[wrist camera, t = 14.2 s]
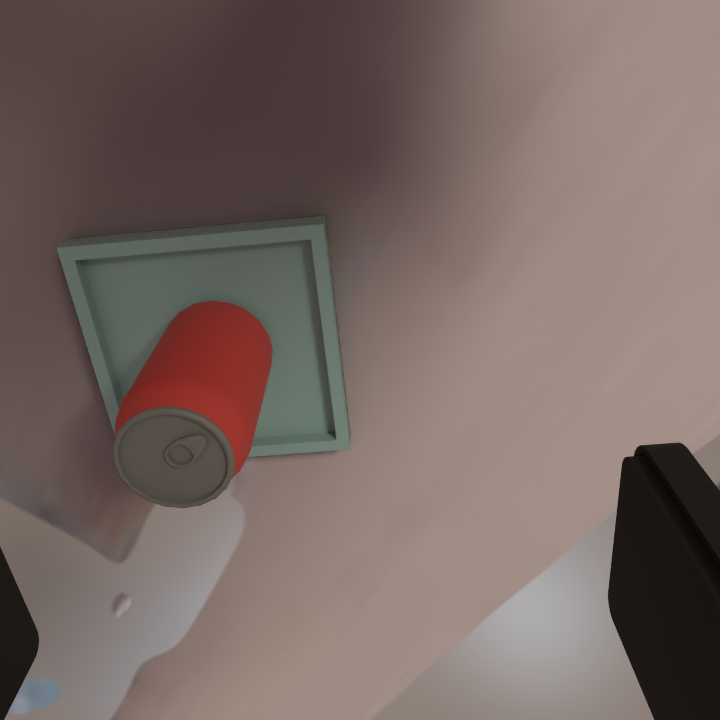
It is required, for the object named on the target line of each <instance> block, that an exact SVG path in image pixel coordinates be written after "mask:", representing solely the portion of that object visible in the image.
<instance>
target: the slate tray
mask: <svg viewBox="0 0 720 720" xmlns="http://www.w3.org/2000/svg"><path fill="white" fill-rule="evenodd" d="M57 251H58V255H59V258H60V261H61V264H62V268H63V271H64V274H65V277H66V280H67V284H68V287H69V290H70V293H71V297H72V300H73V303H74V306H75V310H76V313H77V316H78V319H79V322H80V326H81V329H82V332H83V335H84V339H85V342H86V345H87V348H88V352H89V355H90V358H91V361H92V364H93V368H94V371H95V374H96V377H97V381H98V384H99V387H100V390H101V394H102V397H103V400H104V403H105V406H106V410H107V413H108V416H109V419H110V423H111V426H112V429H113V432H114V436H115V423H116V417H117V415H118V412H119V409H120V406H121V403H122V401H123V399H124V398H125V396H126V394H127V393H128V391H129V389H130V388H131V386H132V385H133V383H134V381H135V380H136V378H137V376H138V375H139V373H140V371H141V370H142V368H143V366H144V365H145V363H146V361H147V360H148V358H149V357H150V355H151V353H152V352H153V350H154V348H155V347H156V345H157V343H158V342H159V340H160V338H161V337H162V335H163V333H164V332H165V330H166V329H167V327H168V325H169V324H170V322H171V321H172V320H173V319H174V318H175V317H176V316H177V314H178V313H179V312H180V311H182V310H184V309H186V308H187V307H189V306H191V305H193V304H195V303H201V302H206V301H220V302H228V303H232V304H234V305H236V306H239V307H241V308H244V309H246V310H247V311H248V312H249V313H251V314H252V315H253V316H254V317H256V318H257V319H258V320H259V321H260V322H261V324H262V325H263V327H264V328H265V330H266V331H267V333H268V334H269V338H270V341H271V345H272V348H273V352H272V365H271V369H270V373H269V377H268V381H267V385H266V389H265V394H264V398H263V402H262V406H261V410H260V414H259V418H258V422H257V426H256V431H255V435H254V439H253V443H252V447H251V450H250V452H249V454H248V457H256V456H269V455H283V454H296V453H309V452H322V451H335V450H348V449H350V426H349V417H348V409H347V400H346V391H345V383H344V374H343V366H342V357H341V348H340V340H339V331H338V323H337V314H336V305H335V297H334V288H333V280H332V271H331V263H330V254H329V245H328V237H327V228H326V220H325V215H323V216H312V217H301V218H290V219H279V220H268V221H257V222H246V223H235V224H224V225H213V226H202V227H191V228H180V229H169V230H158V231H146V232H135V233H124V234H113V235H102V236H91V237H80V238H69V239H68V240H66V241H65V242H64V243H62V244H61V245H60V246H58V247H57Z"/></svg>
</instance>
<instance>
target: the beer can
mask: <svg viewBox="0 0 720 720" xmlns="http://www.w3.org/2000/svg"><path fill="white" fill-rule="evenodd" d="M272 352H273V348H272V345H271V341H270V338H269V334H268V333H267V331H266V330H265V328H264V327H263V325H262V324H261V322H260V321H259V320H258V319H257V318H256V317H254V316H253V315H252V314H251V313H249V312H248V311H247V310H246V309H244V308H241V307H239V306H236V305H234V304H232V303H228V302H220V301H206V302H201V303H195V304H193V305H191V306H189V307H187V308H186V309H184V310H182V311H180V312H179V313H178V314H177V316H176V317H175V318H174V319H173V320H172V321H171V322H170V324H169V325H168V327H167V329H166V330H165V332H164V333H163V335H162V337H161V338H160V340H159V342H158V343H157V345H156V347H155V348H154V350H153V352H152V353H151V355H150V357H149V358H148V360H147V361H146V363H145V365H144V366H143V368H142V370H141V371H140V373H139V375H138V376H137V378H136V380H135V381H134V383H133V385H132V386H131V388H130V389H129V391H128V393H127V394H126V396H125V398H124V399H123V401H122V403H121V406H120V409H119V412H118V415H117V417H116V423H115V440H114V443H113V446H112V450H113V463H114V465H115V467H116V470H117V472H118V474H119V476H120V478H121V479H122V480H123V481H124V482H125V484H126V485H127V486H128V487H129V488H130V489H131V490H132V491H133V492H135V493H136V494H138V495H140V496H141V497H143V498H144V499H146V500H148V501H151V502H153V503H156V504H160V505H162V506H167V507H177V508H186V507H193V506H199V505H202V504H205V503H207V502H209V501H211V500H213V499H215V498H217V497H218V496H219V495H220V494H221V493H222V492H223V491H224V490H225V489H226V488H227V487H228V485H229V483H230V480H231V479H232V478H233V477H234V476H235V475H236V474H237V473H238V472H239V471H240V469H241V468H242V466H243V465H244V463H245V461H246V459H247V457H248V454H249V452H250V450H251V447H252V443H253V439H254V435H255V431H256V426H257V422H258V418H259V414H260V410H261V406H262V402H263V398H264V394H265V389H266V385H267V381H268V377H269V373H270V369H271V365H272Z"/></svg>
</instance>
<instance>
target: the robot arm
mask: <svg viewBox="0 0 720 720" xmlns="http://www.w3.org/2000/svg"><path fill="white" fill-rule="evenodd" d="M608 601H609V608H610V613H611V616H612V619H613V622H614V624H615V627H616V629H617V632H618V634H619V636H620V639H621V641H622V644H623V646H624V648H625V651H626V653H627V656H628V658H629V660H630V663H631V665H632V668H633V670H634V672H635V674H636V677H637V679H638V682H639V684H640V687H641V689H642V691H643V694H644V696H645V699H646V701H647V703H648V706H649V708H650V710H651V713H652V715H653V717H654V720H720V491H719V489H718V488H717V487H716V485H715V484H714V483H713V481H712V480H711V479H710V477H709V476H708V475H707V474H706V472H705V471H704V470H703V468H702V467H701V466H700V464H699V463H698V462H697V460H696V459H695V458H694V456H693V455H692V454H691V452H690V451H689V450H688V449H687V447H686V446H685V445H683V444H682V443H667V444H654V445H641V446H639V447H637V449H636V451H635V454H634V456H632V457H626V458H624V460H623V463H622V470H621V479H620V488H619V497H618V507H617V516H616V525H615V534H614V544H613V553H612V562H611V572H610V581H609V590H608ZM38 645H39V636H38V632H37V629H36V627H35V624H34V622H33V620H32V617H31V615H30V613H29V611H28V608H27V606H26V604H25V602H24V599H23V597H22V595H21V593H20V591H19V588H18V586H17V584H16V582H15V579H14V577H13V575H12V572H11V570H10V568H9V566H8V563H7V561H6V559H5V557H4V554H3V552H2V550H1V548H0V720H4V719H5V716H6V715H7V713H8V711H9V709H10V707H11V705H12V703H13V701H14V699H15V697H16V695H17V693H18V691H19V689H20V687H21V685H22V683H23V681H24V679H25V677H26V675H27V673H28V671H29V669H30V667H31V665H32V663H33V661H34V659H35V657H36V654H37V651H38Z"/></svg>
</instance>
